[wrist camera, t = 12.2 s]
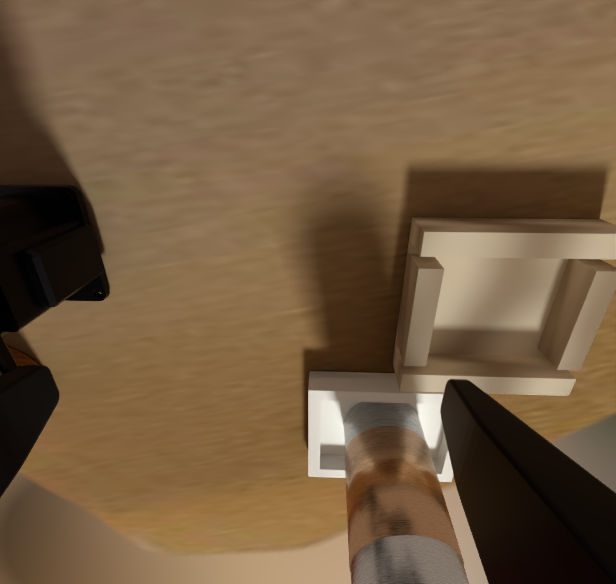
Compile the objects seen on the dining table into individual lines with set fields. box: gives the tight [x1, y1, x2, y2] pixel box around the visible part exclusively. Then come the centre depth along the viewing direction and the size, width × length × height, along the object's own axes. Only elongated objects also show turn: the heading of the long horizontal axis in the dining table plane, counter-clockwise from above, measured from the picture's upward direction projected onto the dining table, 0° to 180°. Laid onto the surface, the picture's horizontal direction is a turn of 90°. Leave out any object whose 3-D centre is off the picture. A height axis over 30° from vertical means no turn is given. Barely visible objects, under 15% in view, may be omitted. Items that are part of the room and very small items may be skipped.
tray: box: [308, 371, 453, 482], centre depth 24 cm, size 10×8×2 cm
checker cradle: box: [393, 217, 616, 396], centre depth 19 cm, size 9×9×2 cm
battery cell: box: [344, 402, 469, 584], centre depth 18 cm, size 5×5×13 cm
